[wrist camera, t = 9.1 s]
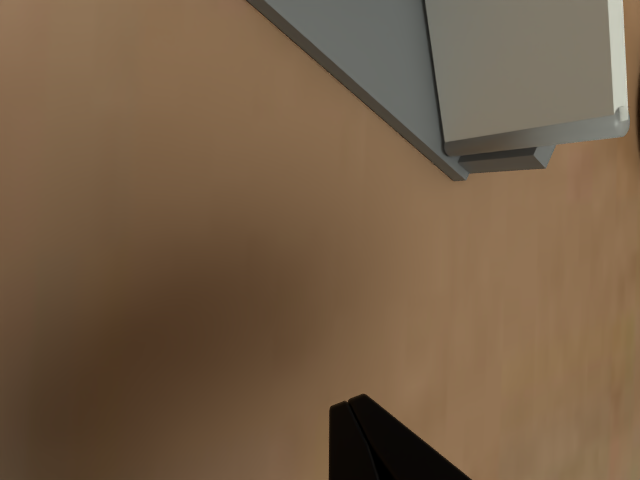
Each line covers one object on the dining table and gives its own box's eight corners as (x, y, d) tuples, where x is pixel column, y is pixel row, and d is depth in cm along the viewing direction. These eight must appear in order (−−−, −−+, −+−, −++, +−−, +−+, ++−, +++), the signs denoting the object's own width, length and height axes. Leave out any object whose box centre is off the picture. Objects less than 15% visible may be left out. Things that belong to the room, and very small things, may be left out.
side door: (460, 154, 25) (630, 134, 17) (431, 162, 24) (598, 144, 16) (429, -81, 22) (612, -238, 14) (395, -84, 21) (572, -254, 13)
